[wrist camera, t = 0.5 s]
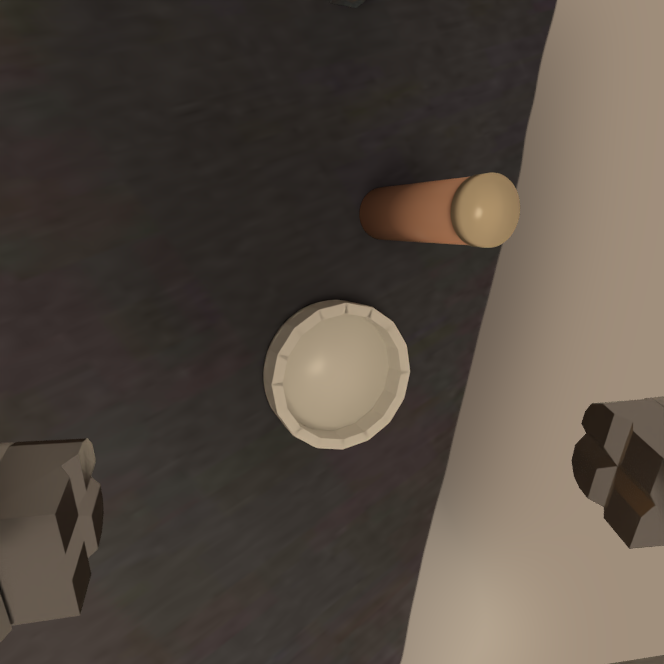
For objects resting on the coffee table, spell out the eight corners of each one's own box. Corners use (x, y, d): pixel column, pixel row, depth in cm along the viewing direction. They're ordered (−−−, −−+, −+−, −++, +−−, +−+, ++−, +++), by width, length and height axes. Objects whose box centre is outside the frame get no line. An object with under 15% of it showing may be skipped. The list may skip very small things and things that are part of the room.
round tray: (249, 318, 50) (259, 324, 47) (383, 285, 55) (399, 289, 52) (278, 455, 54) (288, 468, 51) (400, 413, 59) (416, 423, 56)
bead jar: (354, 190, 52) (457, 178, 37) (402, 182, 54) (517, 167, 39) (362, 245, 53) (464, 254, 39) (408, 235, 55) (522, 240, 40)
